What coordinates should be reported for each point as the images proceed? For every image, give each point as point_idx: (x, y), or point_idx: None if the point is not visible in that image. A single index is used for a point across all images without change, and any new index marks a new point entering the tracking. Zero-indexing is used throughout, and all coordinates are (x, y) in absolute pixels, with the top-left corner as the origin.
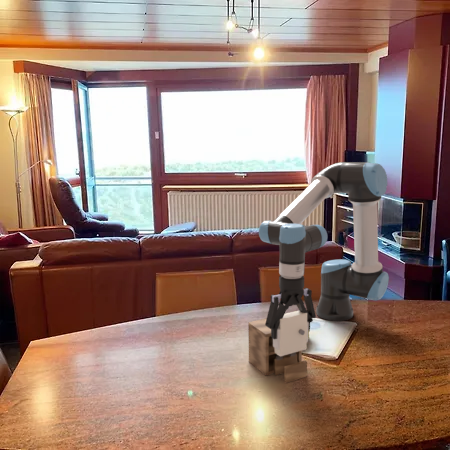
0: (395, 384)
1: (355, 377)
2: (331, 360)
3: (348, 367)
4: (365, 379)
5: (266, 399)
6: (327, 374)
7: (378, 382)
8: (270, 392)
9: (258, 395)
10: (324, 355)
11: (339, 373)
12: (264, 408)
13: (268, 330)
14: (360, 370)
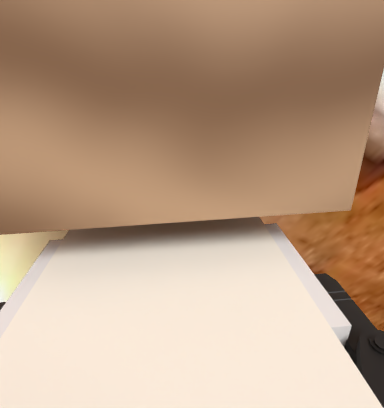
0: (378, 321)
1: (332, 267)
2: (363, 160)
3: (365, 220)
4: (344, 283)
5: (32, 261)
6: (279, 226)
7: (356, 303)
8: (57, 237)
9: (13, 236)
10: (377, 115)
11: (314, 235)
12: (12, 290)
13: (14, 182)
14: (376, 246)
